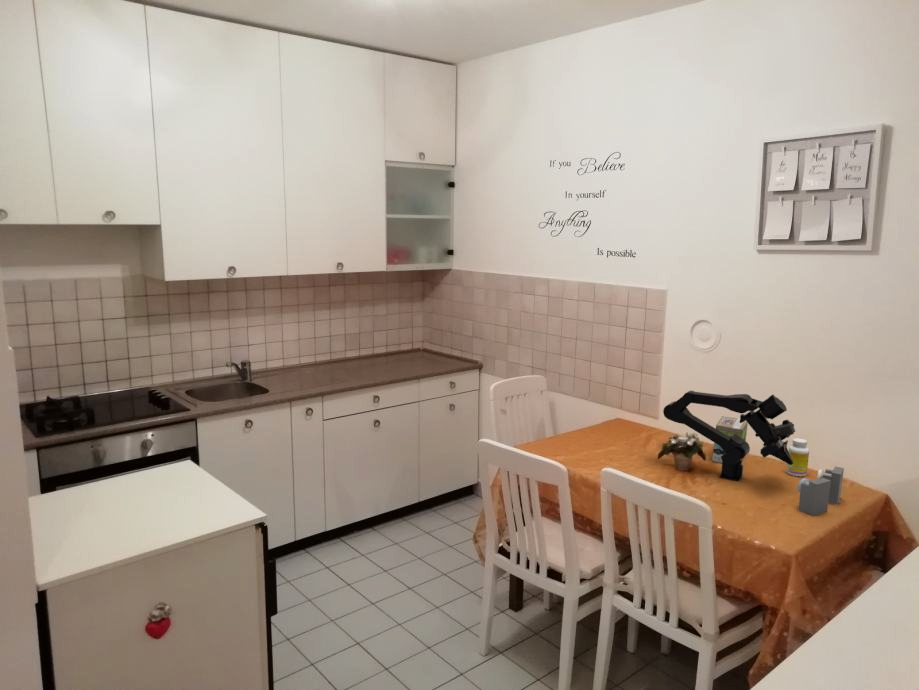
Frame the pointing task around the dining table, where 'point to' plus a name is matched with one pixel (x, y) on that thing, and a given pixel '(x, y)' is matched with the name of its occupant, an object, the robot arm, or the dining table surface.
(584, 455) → the dining table surface
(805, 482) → the button blue
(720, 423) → the tea box
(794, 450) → the supplement bottle
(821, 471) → the button ivory
